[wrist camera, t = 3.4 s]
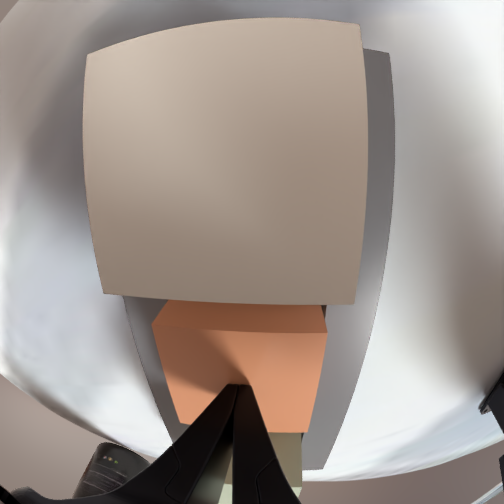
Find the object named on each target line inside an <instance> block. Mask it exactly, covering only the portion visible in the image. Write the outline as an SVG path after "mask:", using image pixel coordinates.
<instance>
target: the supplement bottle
mask: <svg viewBox="0 0 504 504" xmlns="http://www.w3.org/2000/svg"><path fill="white" fill-rule="evenodd" d="M149 465H151V464H150V463H149V462H148V461H147V460H145V459H144V458H143V457H141V456H140V455H138V454H136V453H135V452H133V451H131V450H129V449H127V448H124V447H122V446H119V445H117V444H113V443H107V442H106V443H101V444H99V446H98V447H97V449H96V451H95V453H94V454H93V456H92V458H91V460H90V462H89V464H88V466H87V468H86V470H85V472H84V473H83V476H82V477H81V479H80V481H79V483H78V485H77V487H76V489H75V491H74V493H73V496H72V499H73V498H81V497H88V496H94V495H100V494H105V493H108V492H111V491H113V490H115V489H117V488H119V487H120V486H122V485H123V484H125V483H126V482H127V481H129V480H130V479H132V478H133V477H135V476H136V475H137V474H139V473H140V472H141V471H143V470H144V469H146V468H147V467H148V466H149Z"/></svg>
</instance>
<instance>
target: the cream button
mask: <svg viewBox="0 0 504 504" xmlns="http://www.w3.org/2000/svg"><path fill="white" fill-rule="evenodd" d="M83 161H84V177H85V188H86V198H87V207H88V215H89V222H90V229H91V235H92V241H93V246H94V252H95V257H96V262H97V267H98V271H99V276H100V280H101V285H102V289H103V293H104V294H113V295H123V296H133V297H144V298H156V299H169V300H184V301H200V302H218V303H242V304H278V305H353V304H354V302H355V296H356V289H357V283H358V276H359V269H360V261H361V253H362V244H363V234H364V223H365V211H366V196H367V174H368V112H367V91H366V77H365V66H364V56H363V47H362V39H361V32H360V25H359V24H353V23H346V22H339V21H330V20H320V19H307V18H245V19H232V20H222V21H213V22H206V23H199V24H193V25H187V26H182V27H177V28H172V29H167V30H163V31H159V32H155V33H151V34H147V35H143V36H140V37H136V38H133V39H129V40H126V41H123V42H120V43H117V44H114V45H111V46H108V47H106V48H103V49H100V50H98V51H95V52H93V53H90V54H88V55H87V60H86V69H85V80H84V95H83Z"/></svg>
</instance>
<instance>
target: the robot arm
mask: <svg viewBox="0 0 504 504" xmlns="http://www.w3.org/2000/svg"><path fill="white" fill-rule="evenodd" d="M490 411H492V413H493V415H494V417H495V418H496V420H497V422H498V424H499V426H500V428H501V430H502V432H503V433H504V374H503V375H502V377H501V379H500V380H499V382H498V384H497V385H496V387H495V389H494V390H493V392H492V393H491V395H490V396H489V398H488V399H487V401H486V402H485V404H484V405H483V407H482V408H481V410H480V413H481V414H485V413H487V412H490ZM231 457H232V504H301V502H300V501H299V499H298V498H297V496H296V494H295V493H294V491H293V490H292V488H291V486H290V484H289V482H288V481H287V479H286V477H285V474H284V472H283V470H282V468H281V465H280V463H279V460H278V458H277V455H276V452H275V450H274V447H273V444H272V442H271V439H270V436H269V434H268V431H267V428H266V425H265V423H264V420H263V417H262V414H261V411H260V408H259V406H258V403H257V400H256V397H255V394H254V391H253V388H252V386H251V385H245V384H241V385H240V386H239V385H238V384H231V383H228V384H227V385H226V386H225V387H224V388H223V389H222V390H221V391H220V393H219V394H218V395H217V396H216V397H215V398H214V399H213V401H212V402H211V403H210V404H209V405H208V406H207V407H206V408H205V410H204V411H203V412H202V413H201V414H200V415H199V416H198V417H197V418H196V419H195V421H194V422H193V423H192V424H191V425H190V426H189V427H188V428H187V429H186V430H185V431H184V432H183V433H182V435H181V436H180V437H179V438H178V439H177V440H176V441H175V442H174V443H173V444H172V446H170V447H169V448H168V449H167V450H166V451H165V452H164V453H163V454H162V455H161V456H160V457H159V458H158V459H157V460H155V461H154V462H153V463H152V464H151V465H149V466H148V467H147V468H146V469H144V470H143V471H141V472H140V473H139V474H137V475H136V476H135V477H133V478H132V479H130V480H129V481H127V482H126V483H125V484H123V485H122V486H120V487H119V488H117V489H115V490H113V491H111V492H108V493H105V494H100V495H94V496H88V497H81V498H73V499H65V500H53V499H48V498H45V497H43V496H41V495H40V494H39V493H37V492H36V491H34V490H33V489H31V488H30V487H23V488H18V489H15V490H13V491H12V492H11V493H10V492H9V491H8V490H6V489H5V488H4V487H3V486H2V485H0V504H218V503H219V499H220V496H221V493H222V489H223V486H224V482H225V479H226V475H227V471H228V468H229V464H230V461H231ZM499 462H500V469H501V476H502V482H503V490H504V455H502V456H501V457H500V458H499Z"/></svg>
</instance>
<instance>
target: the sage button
mask: <svg viewBox="0 0 504 504" xmlns="http://www.w3.org/2000/svg"><path fill="white" fill-rule="evenodd" d="M268 434H269V436H270V439H271V442H272V444H273V447H274V450H275V452H276V455H277V458H278V460H279V463H280V465H281V468H282V470H283V472H284V474H285V477H286V479H287V481H288V482H289V484H290V486H291V488H292V490H293V491H294V493H295V494H296V496H297V498H298V496H299V493H300V491H301V489H302V445H301V432H300V433H279V432H268ZM218 504H232V457H231V461H230V464H229V468H228V471H227V475H226V479H225V482H224V486H223V489H222V493H221V496H220V499H219V503H218Z"/></svg>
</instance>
